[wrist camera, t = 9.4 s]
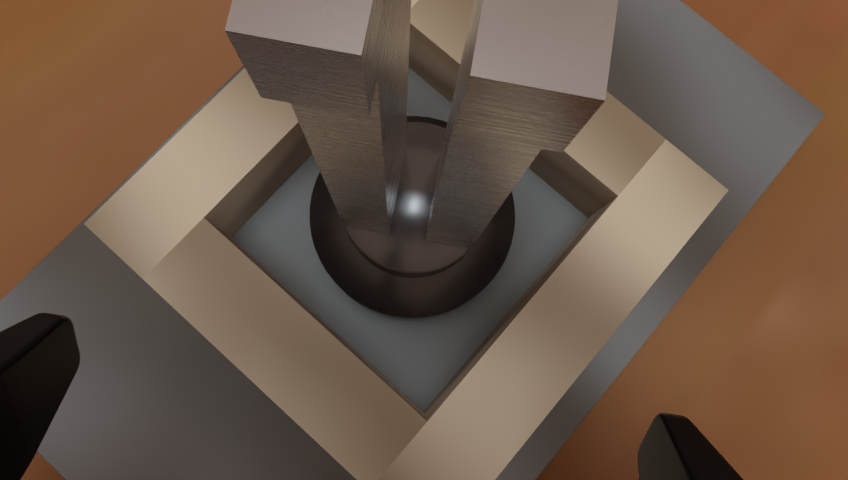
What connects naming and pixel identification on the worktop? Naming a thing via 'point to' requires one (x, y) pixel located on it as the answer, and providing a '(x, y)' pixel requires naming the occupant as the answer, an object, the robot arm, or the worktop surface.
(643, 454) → the robot arm
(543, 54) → the grey piece
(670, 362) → the worktop surface
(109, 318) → the dock
